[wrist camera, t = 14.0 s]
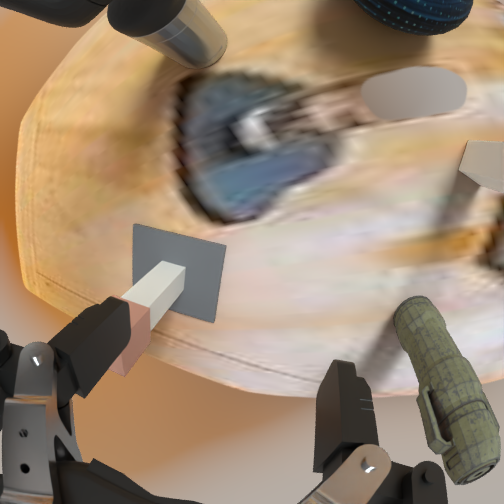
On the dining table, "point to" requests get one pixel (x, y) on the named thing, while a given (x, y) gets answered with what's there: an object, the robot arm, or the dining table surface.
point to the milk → (484, 163)
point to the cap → (134, 338)
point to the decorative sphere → (418, 14)
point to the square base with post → (175, 274)
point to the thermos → (448, 394)
